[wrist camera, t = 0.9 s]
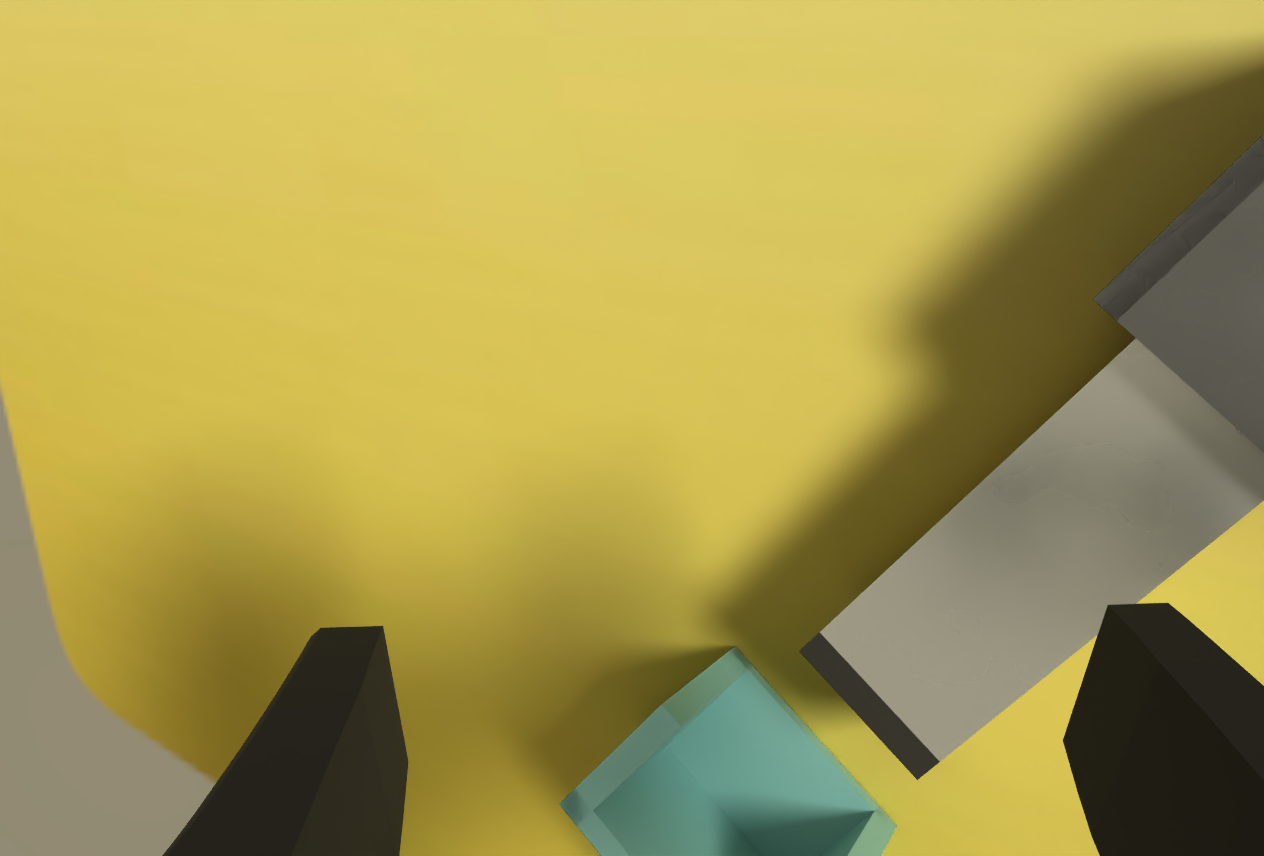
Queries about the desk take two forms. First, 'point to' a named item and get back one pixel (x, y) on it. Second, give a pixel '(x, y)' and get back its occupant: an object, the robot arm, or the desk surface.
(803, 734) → the socket
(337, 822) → the robot arm
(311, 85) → the desk surface
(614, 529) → the desk surface
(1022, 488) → the long grey plank
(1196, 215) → the sleeve
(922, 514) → the desk surface
